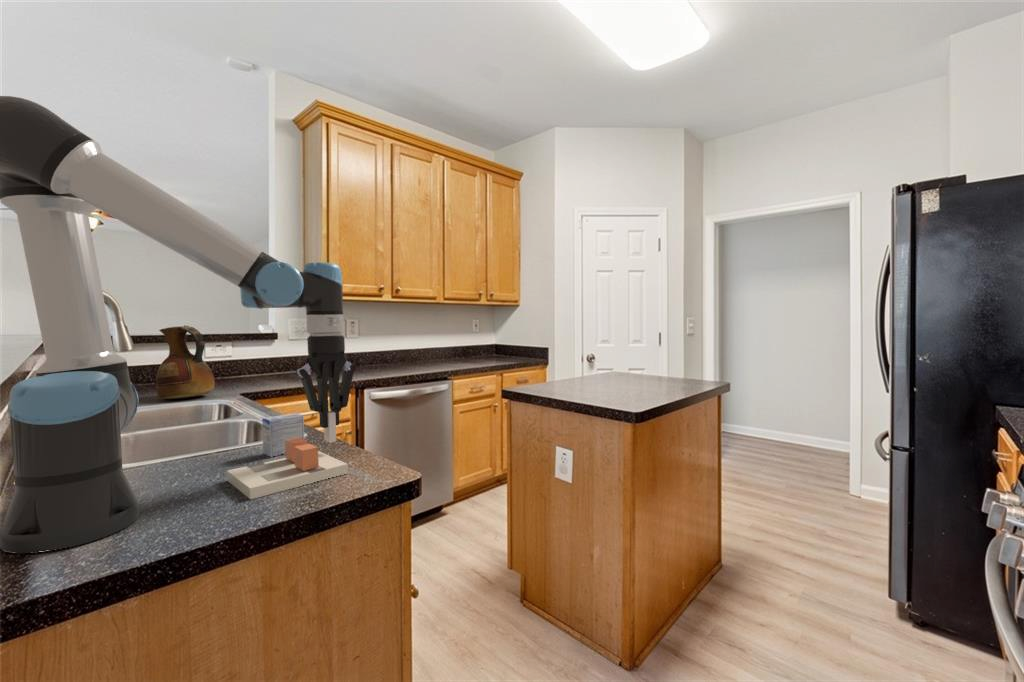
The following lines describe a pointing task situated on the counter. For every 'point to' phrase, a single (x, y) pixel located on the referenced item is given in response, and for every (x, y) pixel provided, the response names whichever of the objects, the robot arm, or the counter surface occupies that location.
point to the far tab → (290, 447)
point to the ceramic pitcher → (183, 367)
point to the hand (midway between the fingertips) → (330, 441)
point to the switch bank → (282, 475)
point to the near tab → (306, 457)
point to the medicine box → (281, 432)
